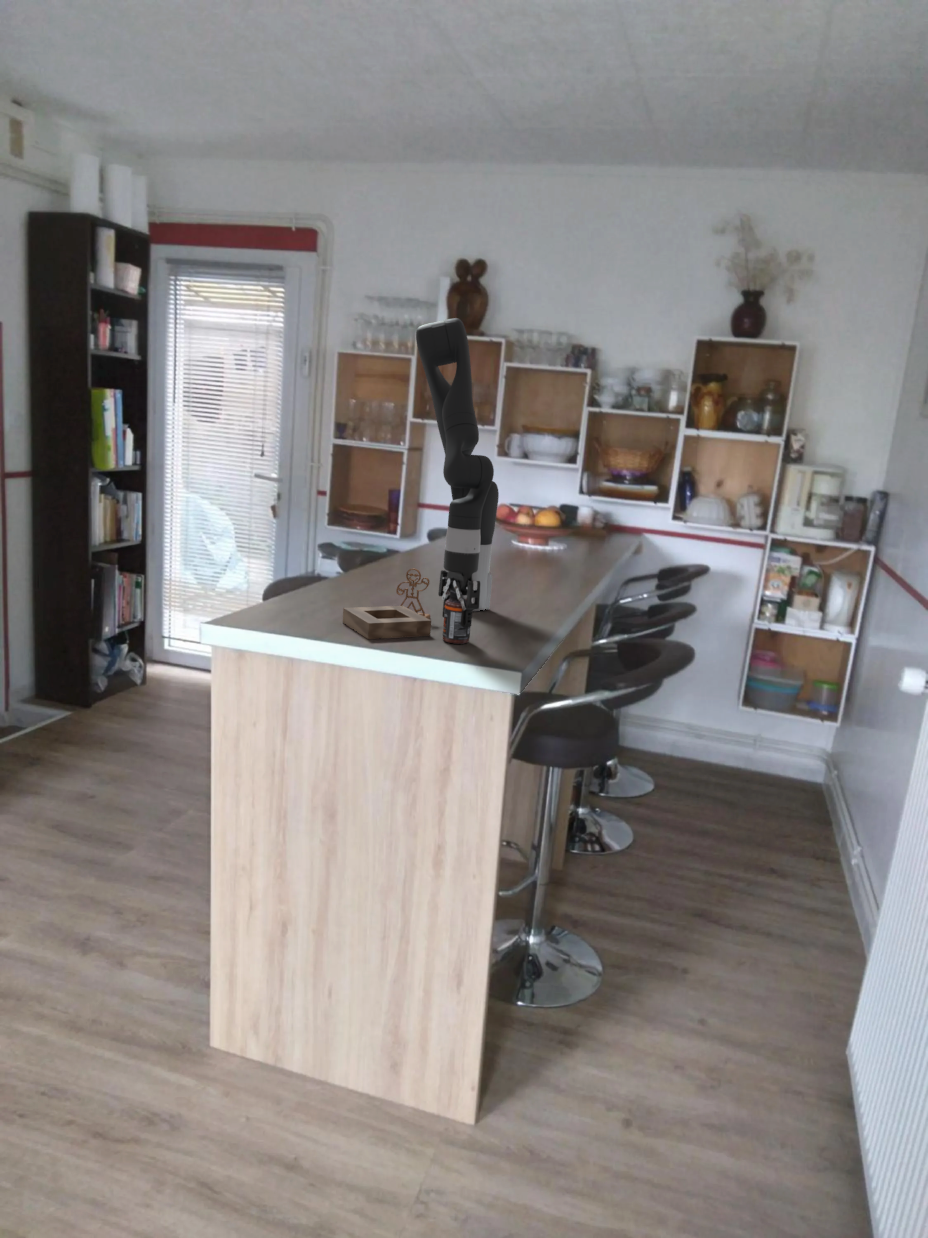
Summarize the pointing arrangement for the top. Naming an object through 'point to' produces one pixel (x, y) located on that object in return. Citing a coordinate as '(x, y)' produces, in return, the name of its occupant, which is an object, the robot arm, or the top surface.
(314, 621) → the top surface
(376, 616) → the brown wooden square frame
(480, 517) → the robot arm
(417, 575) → the gingerbread man figurine
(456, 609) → the supplement bottle
